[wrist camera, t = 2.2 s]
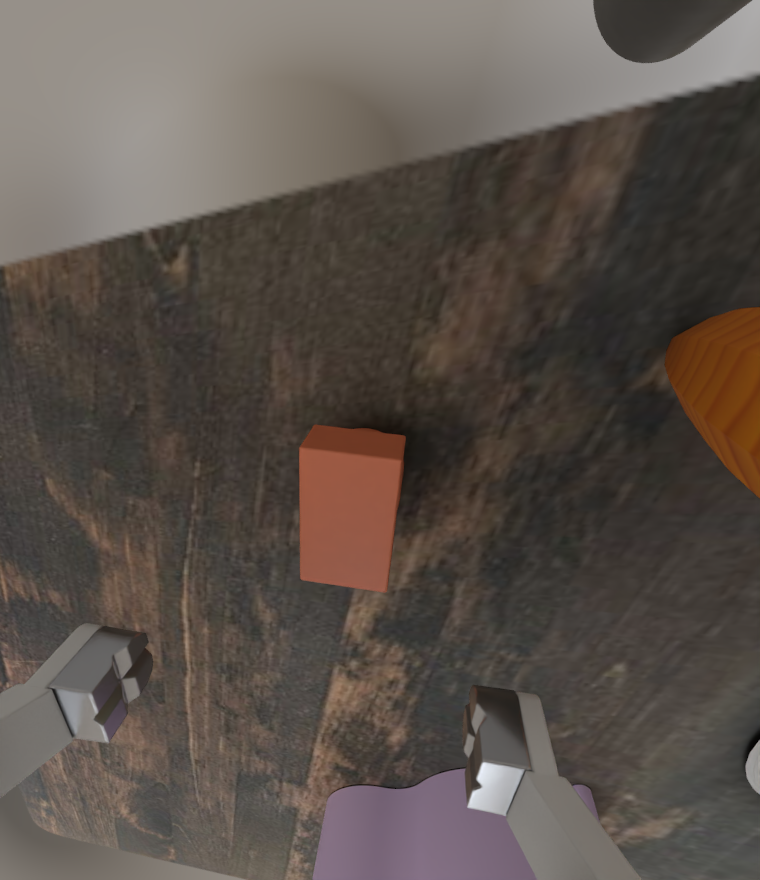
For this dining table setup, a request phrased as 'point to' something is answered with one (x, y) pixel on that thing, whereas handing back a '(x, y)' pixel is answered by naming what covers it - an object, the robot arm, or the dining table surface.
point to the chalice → (754, 768)
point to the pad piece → (349, 505)
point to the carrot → (722, 387)
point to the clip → (419, 835)
